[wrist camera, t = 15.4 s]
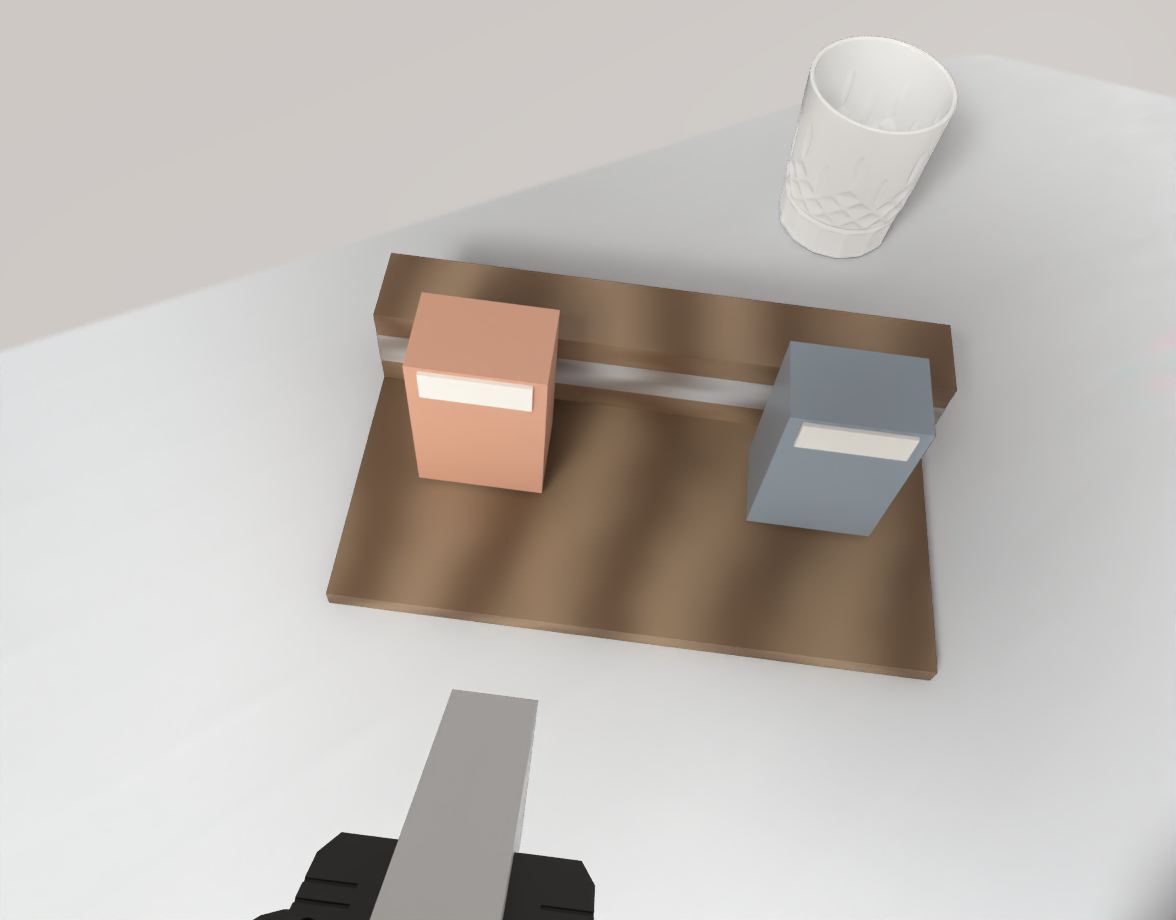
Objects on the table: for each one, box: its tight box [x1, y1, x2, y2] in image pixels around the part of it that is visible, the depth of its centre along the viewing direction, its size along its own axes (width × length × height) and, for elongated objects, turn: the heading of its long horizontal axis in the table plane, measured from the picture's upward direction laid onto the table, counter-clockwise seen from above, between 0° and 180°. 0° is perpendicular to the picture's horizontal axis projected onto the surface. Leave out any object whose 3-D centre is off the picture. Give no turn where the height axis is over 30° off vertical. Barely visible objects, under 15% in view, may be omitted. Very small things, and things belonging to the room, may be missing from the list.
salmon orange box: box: [402, 292, 560, 493], centre depth 46 cm, size 6×4×9 cm
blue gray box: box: [746, 341, 936, 536], centre depth 46 cm, size 6×4×9 cm
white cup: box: [780, 36, 958, 258], centre depth 58 cm, size 8×8×10 cm
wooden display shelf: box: [326, 253, 957, 680], centre depth 48 cm, size 28×16×6 cm, turn 84°
